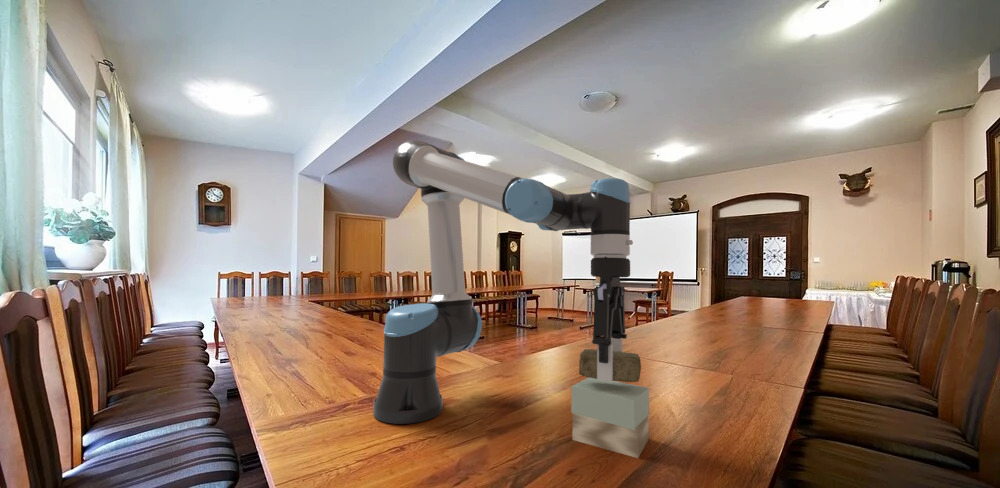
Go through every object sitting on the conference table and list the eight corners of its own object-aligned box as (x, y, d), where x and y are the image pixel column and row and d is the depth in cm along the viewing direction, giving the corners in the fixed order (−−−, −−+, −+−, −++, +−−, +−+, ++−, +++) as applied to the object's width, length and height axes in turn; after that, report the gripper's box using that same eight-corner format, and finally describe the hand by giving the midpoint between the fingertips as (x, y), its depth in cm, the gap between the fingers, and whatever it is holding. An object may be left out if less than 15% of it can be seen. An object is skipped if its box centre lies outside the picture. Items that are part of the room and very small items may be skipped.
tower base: (572, 441, 70) (572, 414, 71) (588, 425, 78) (588, 400, 78) (638, 459, 64) (637, 429, 64) (648, 440, 71) (648, 413, 72)
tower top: (571, 412, 71) (571, 386, 72) (590, 400, 78) (590, 376, 79) (634, 429, 64) (633, 400, 64) (649, 414, 71) (648, 387, 71)
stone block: (642, 385, 67) (641, 357, 68) (578, 379, 71) (578, 352, 71) (639, 376, 73) (639, 351, 73) (580, 371, 76) (580, 346, 77)
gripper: (616, 255, 63) (616, 392, 62) (640, 258, 80) (640, 367, 78) (574, 255, 67) (573, 384, 66) (605, 258, 84) (605, 362, 82)
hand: (610, 375), depth 72 cm, fingers closed on stone block, 7 cm apart
